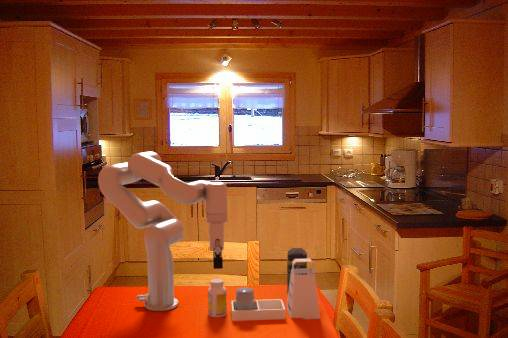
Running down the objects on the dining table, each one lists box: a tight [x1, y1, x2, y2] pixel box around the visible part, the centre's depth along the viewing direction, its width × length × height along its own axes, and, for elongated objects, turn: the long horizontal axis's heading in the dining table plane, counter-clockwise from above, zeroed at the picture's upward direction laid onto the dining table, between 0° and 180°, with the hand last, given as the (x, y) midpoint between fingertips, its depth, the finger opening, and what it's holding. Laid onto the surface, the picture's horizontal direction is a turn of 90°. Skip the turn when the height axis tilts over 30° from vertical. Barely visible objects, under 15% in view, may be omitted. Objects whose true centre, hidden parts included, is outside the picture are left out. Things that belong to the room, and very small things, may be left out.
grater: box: [285, 257, 321, 320], centre depth 190 cm, size 10×10×20 cm
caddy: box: [230, 298, 286, 322], centre depth 188 cm, size 19×10×4 cm, turn 95°
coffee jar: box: [286, 247, 308, 294], centre depth 208 cm, size 10×8×19 cm
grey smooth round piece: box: [235, 286, 255, 310], centre depth 187 cm, size 6×6×9 cm
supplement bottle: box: [207, 278, 228, 318], centre depth 188 cm, size 7×7×13 cm
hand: (217, 264), depth 187 cm, fingers open, 9 cm apart
